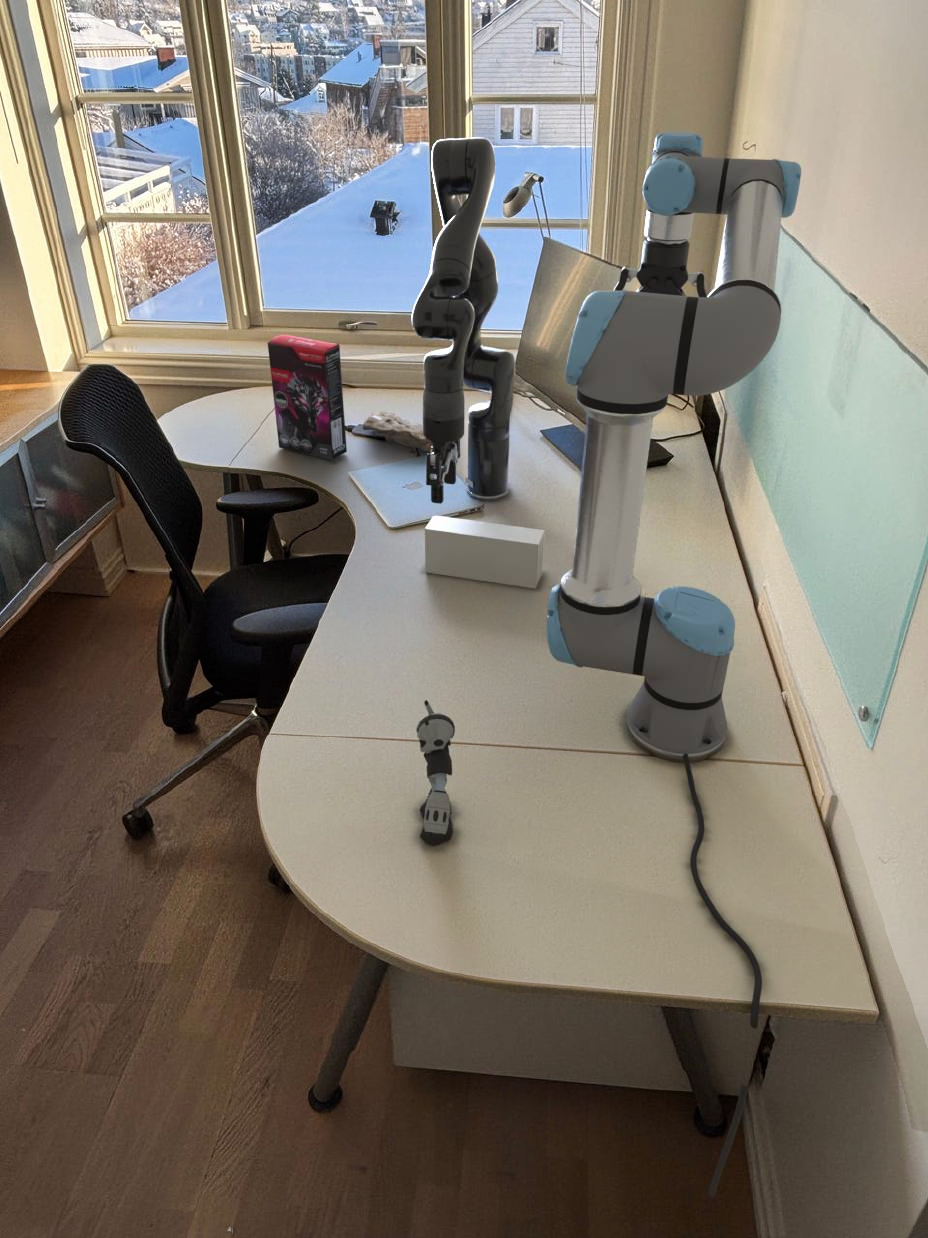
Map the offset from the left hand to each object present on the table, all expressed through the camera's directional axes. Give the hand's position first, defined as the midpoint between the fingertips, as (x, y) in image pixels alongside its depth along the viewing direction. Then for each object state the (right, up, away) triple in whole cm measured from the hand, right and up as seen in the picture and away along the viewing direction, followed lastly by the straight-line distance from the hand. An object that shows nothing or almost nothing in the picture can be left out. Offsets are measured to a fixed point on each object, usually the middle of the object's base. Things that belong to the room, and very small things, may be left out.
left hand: (443, 492), depth 175 cm
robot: (0, -52, -48) cm, 71 cm away
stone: (-12, +21, +61) cm, 66 cm away
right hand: (+37, +20, -12) cm, 44 cm away
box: (+8, -15, +7) cm, 18 cm away
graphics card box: (-34, +18, +56) cm, 68 cm away
